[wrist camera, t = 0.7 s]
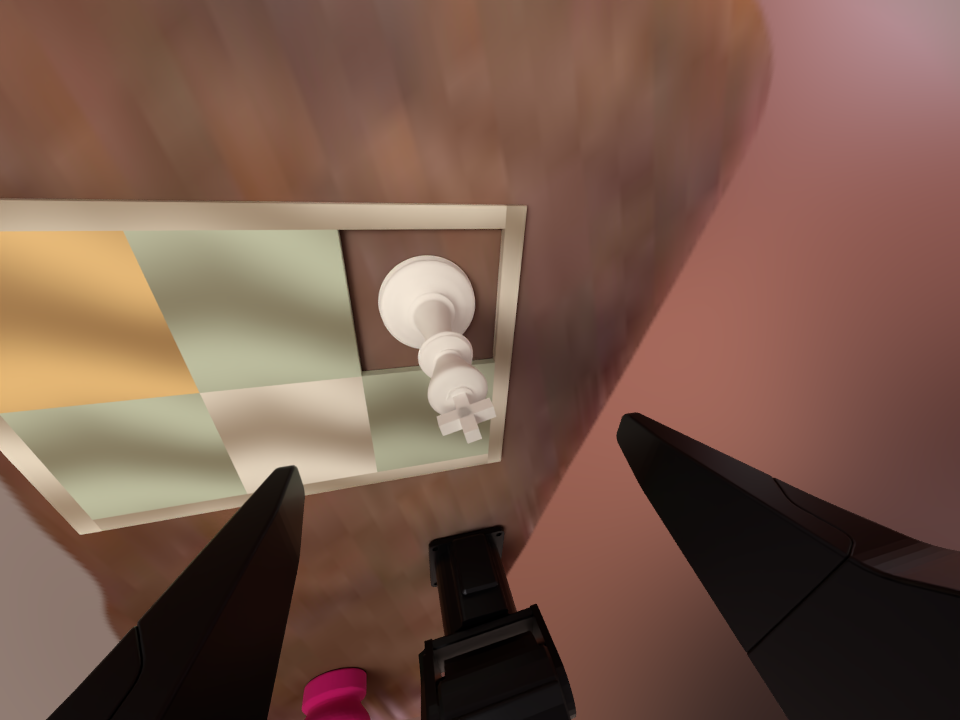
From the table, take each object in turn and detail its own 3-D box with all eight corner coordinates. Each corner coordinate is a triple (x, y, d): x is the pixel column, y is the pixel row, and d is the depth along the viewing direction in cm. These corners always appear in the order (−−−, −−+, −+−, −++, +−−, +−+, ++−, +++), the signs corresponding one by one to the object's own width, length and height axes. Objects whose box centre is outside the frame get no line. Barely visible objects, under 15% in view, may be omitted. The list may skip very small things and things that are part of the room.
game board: (498, 456, 25) (500, 461, 25) (86, 526, 19) (80, 534, 19) (523, 204, 16) (527, 206, 16) (-216, 195, 11) (-241, 196, 10)
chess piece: (361, 272, 16) (348, 402, 8) (460, 242, 17) (543, 333, 8) (399, 356, 19) (417, 516, 11) (482, 328, 19) (562, 460, 11)
